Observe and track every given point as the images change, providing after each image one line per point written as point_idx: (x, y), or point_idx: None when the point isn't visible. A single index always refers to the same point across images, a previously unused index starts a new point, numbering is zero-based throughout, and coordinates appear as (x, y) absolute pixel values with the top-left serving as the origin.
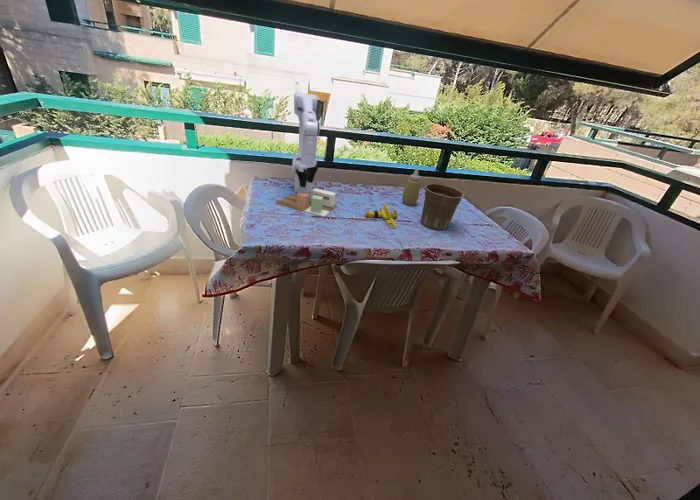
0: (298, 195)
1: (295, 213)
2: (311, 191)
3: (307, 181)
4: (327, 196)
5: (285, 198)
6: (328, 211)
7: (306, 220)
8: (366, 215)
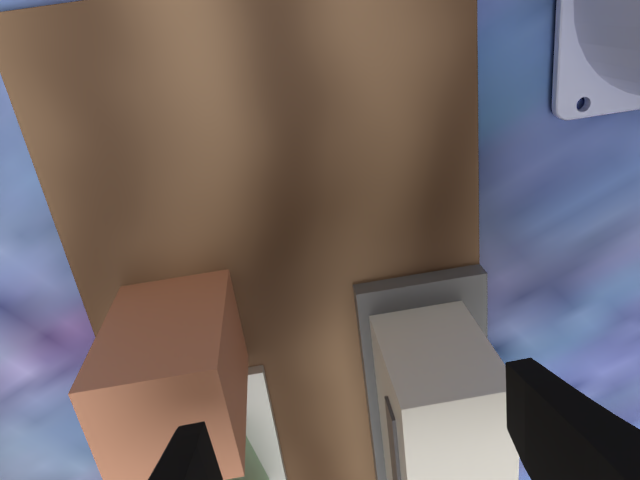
0: (78, 408)
1: (58, 315)
2: (397, 395)
3: (507, 367)
4: None
5: (261, 6)
6: None
7: (27, 456)
8: None
